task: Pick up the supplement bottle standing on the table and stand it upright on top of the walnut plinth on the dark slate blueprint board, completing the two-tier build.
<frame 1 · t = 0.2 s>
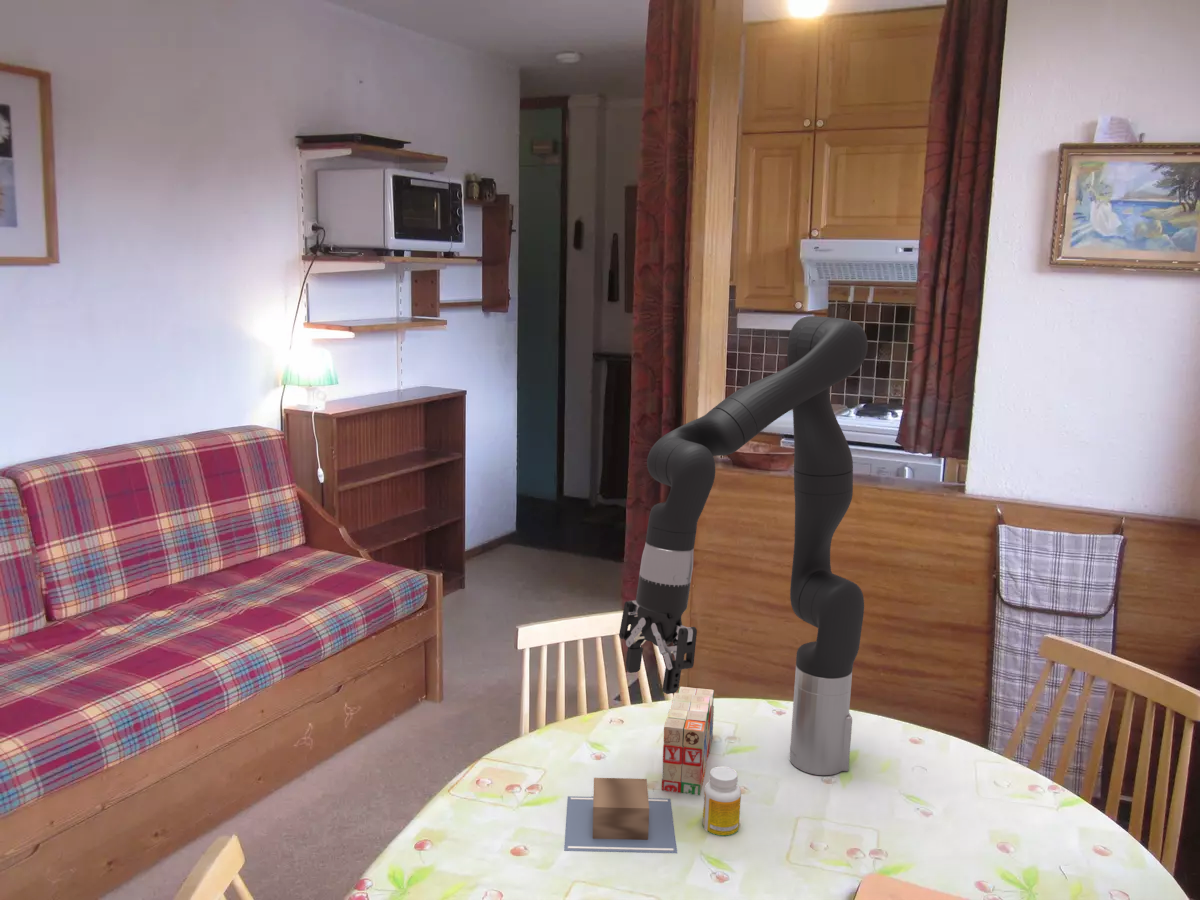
hand: (650, 681, 141), 22 cm above the table, tool pointing down, fingers open, 8 cm apart
blueprint board: (619, 829, 142), on the table
supplement bottle: (720, 833, 142), on the table
stack of blocks: (688, 767, 161), on the table
walnut plinth: (619, 823, 142), resting on blueprint board
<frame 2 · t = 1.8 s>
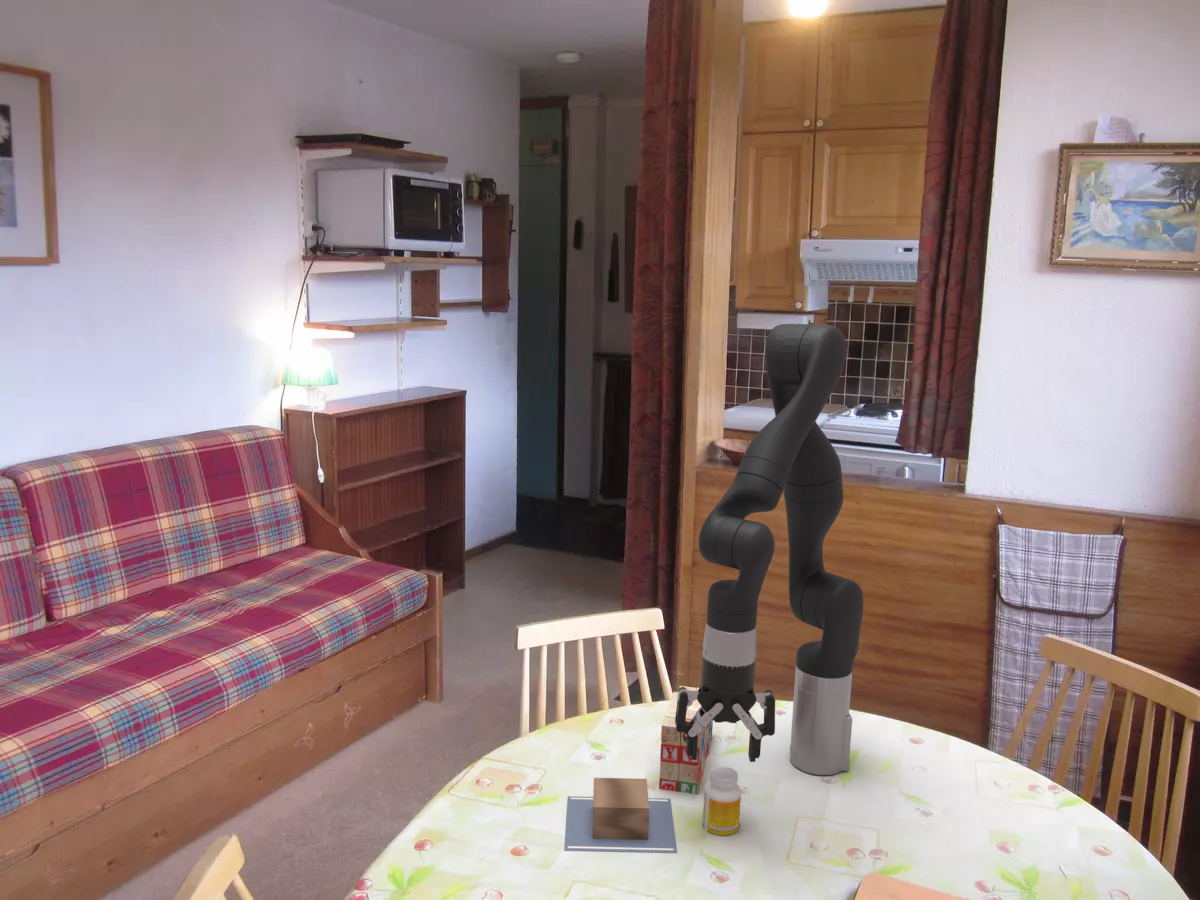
hand: (722, 758, 140), 12 cm above the table, tool pointing down, fingers open, 8 cm apart
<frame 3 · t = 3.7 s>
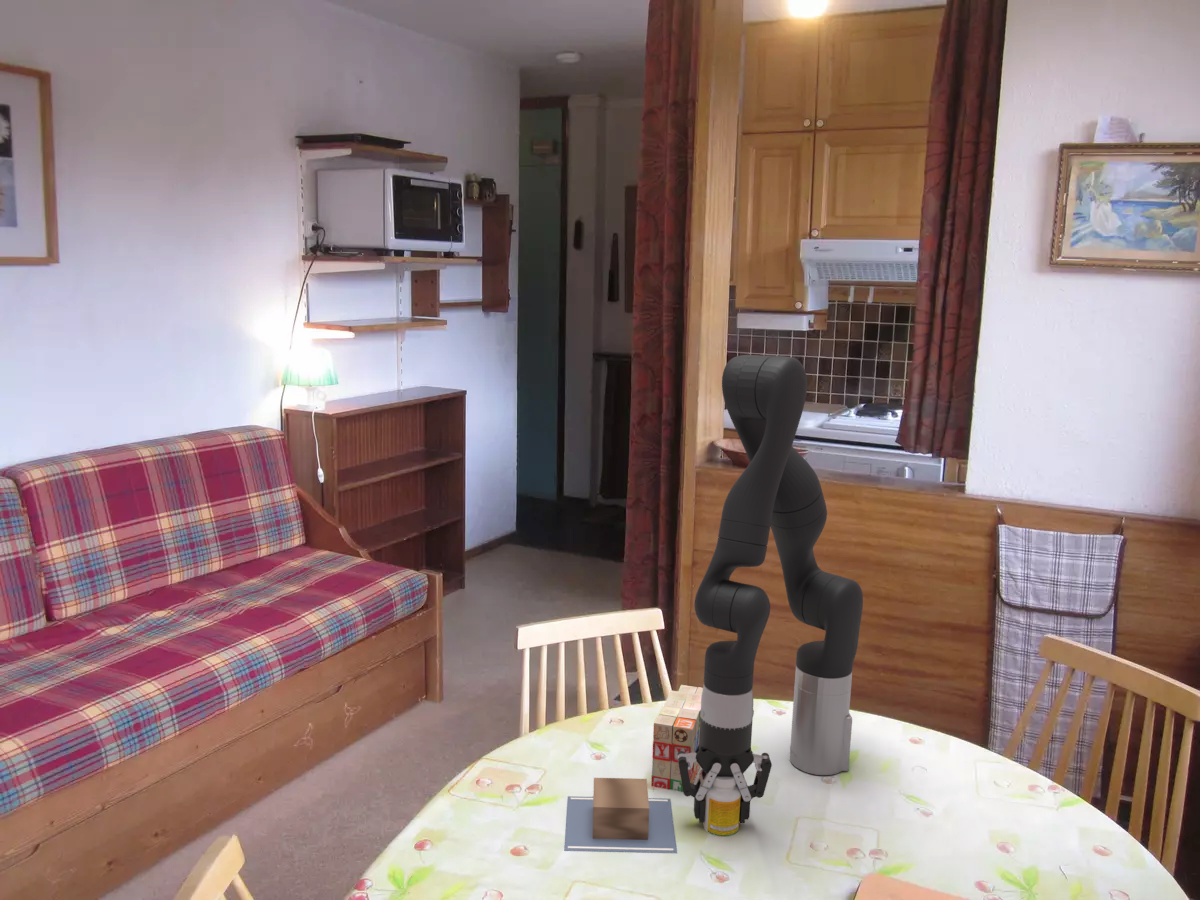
hand: (721, 819, 142), 2 cm above the table, tool pointing down, fingers closed on supplement bottle, 5 cm apart
supplement bottle: (720, 832, 142), on the table, touching gripper
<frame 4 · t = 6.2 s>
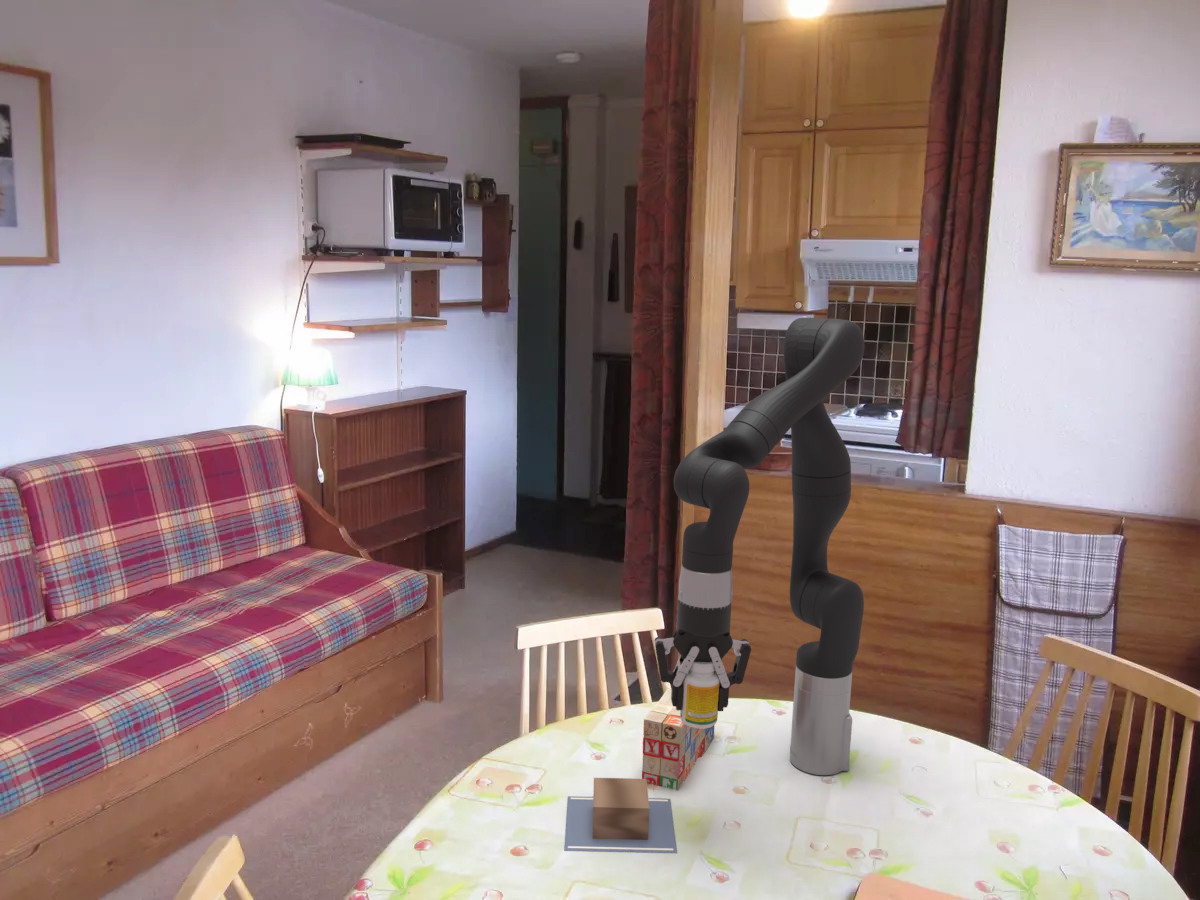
hand: (698, 708, 138), 20 cm above the table, tool pointing down, fingers closed on supplement bottle, 5 cm apart
supplement bottle: (698, 722, 138), point 18 cm above the table, touching gripper
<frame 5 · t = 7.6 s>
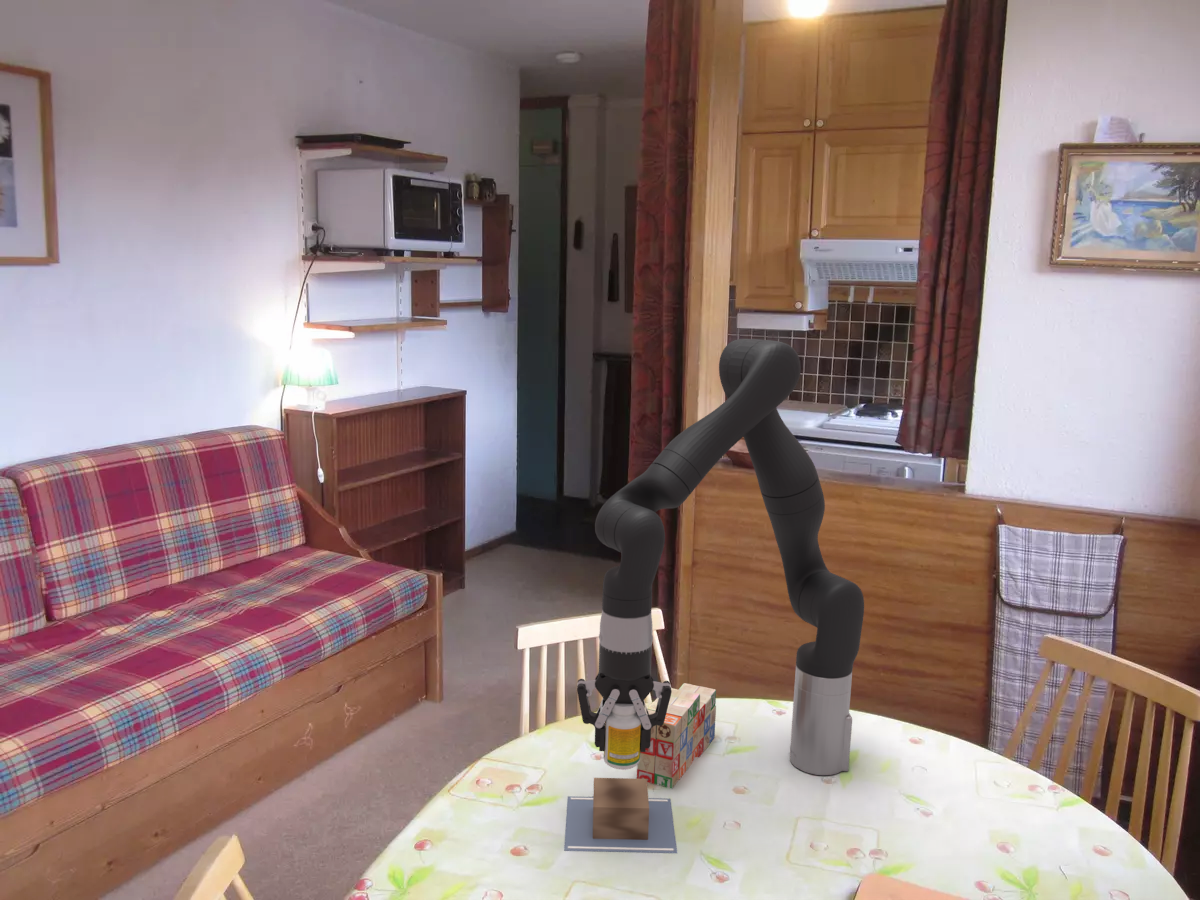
hand: (622, 748, 140), 13 cm above the table, tool pointing down, fingers closed on supplement bottle, 5 cm apart
supplement bottle: (621, 762, 140), point 11 cm above the table, touching gripper
when the fingers open (9 cm above the table, at t = 8.7 s): supplement bottle drops 1 cm, resting on walnut plinth.
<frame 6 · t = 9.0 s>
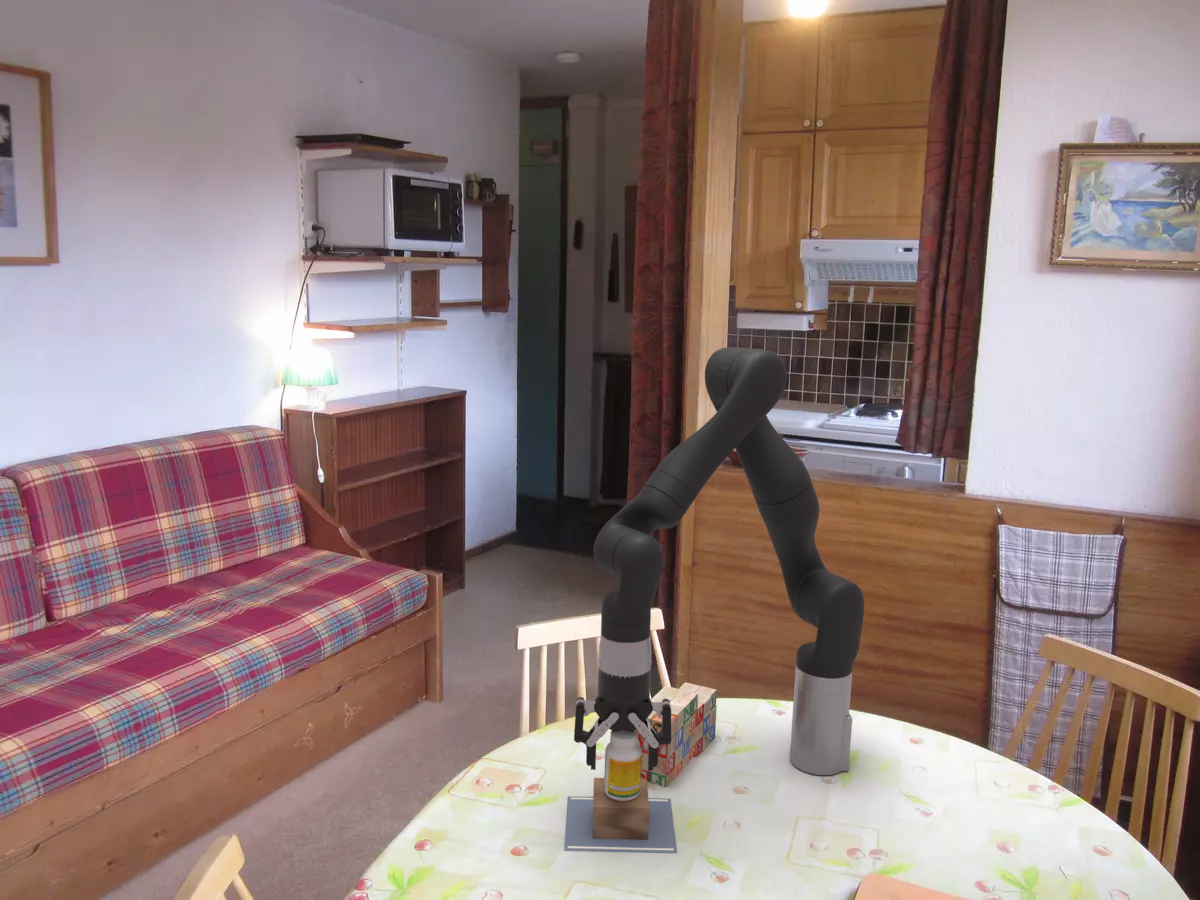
hand: (621, 767, 140), 10 cm above the table, tool pointing down, fingers open, 8 cm apart
supplement bottle: (622, 793, 141), point 6 cm above the table, touching walnut plinth
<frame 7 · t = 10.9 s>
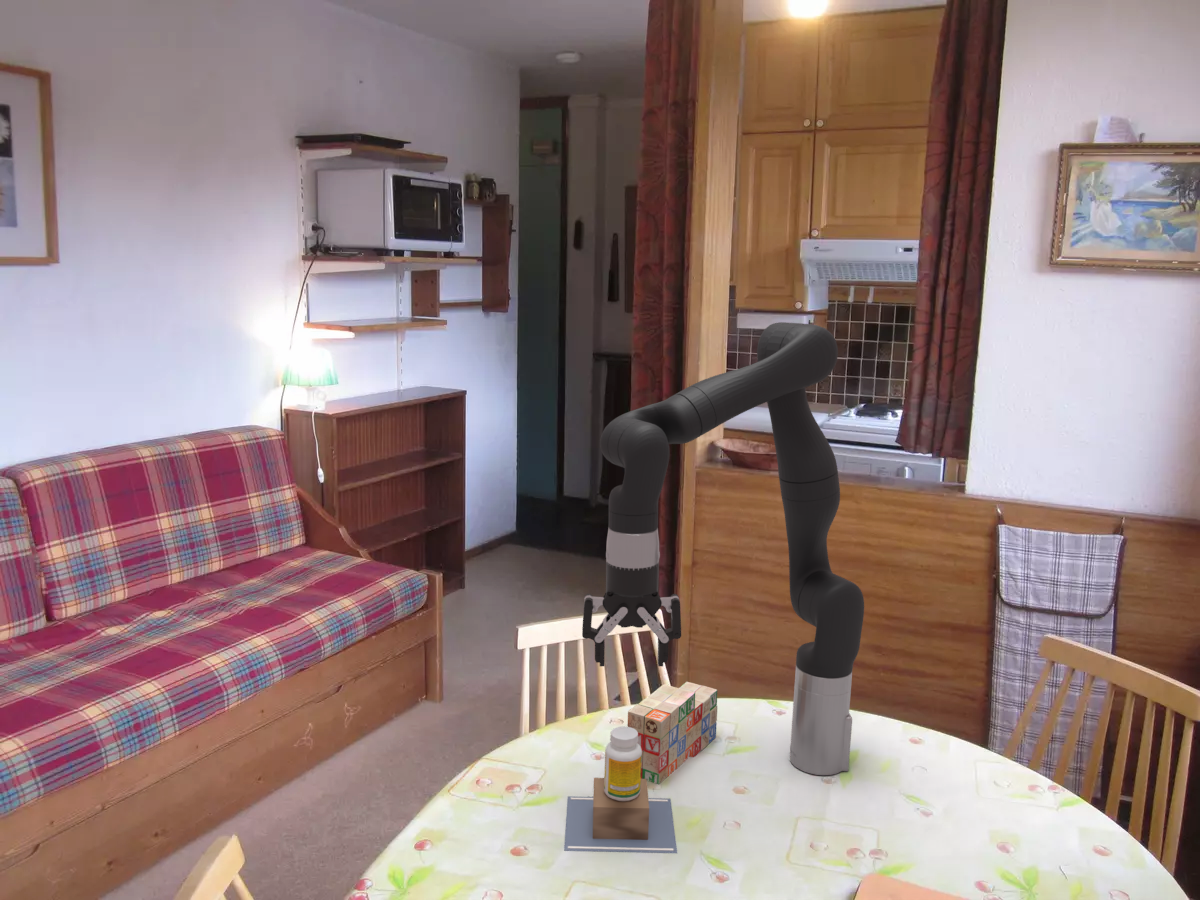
hand: (630, 664, 139), 25 cm above the table, tool pointing down, fingers open, 8 cm apart
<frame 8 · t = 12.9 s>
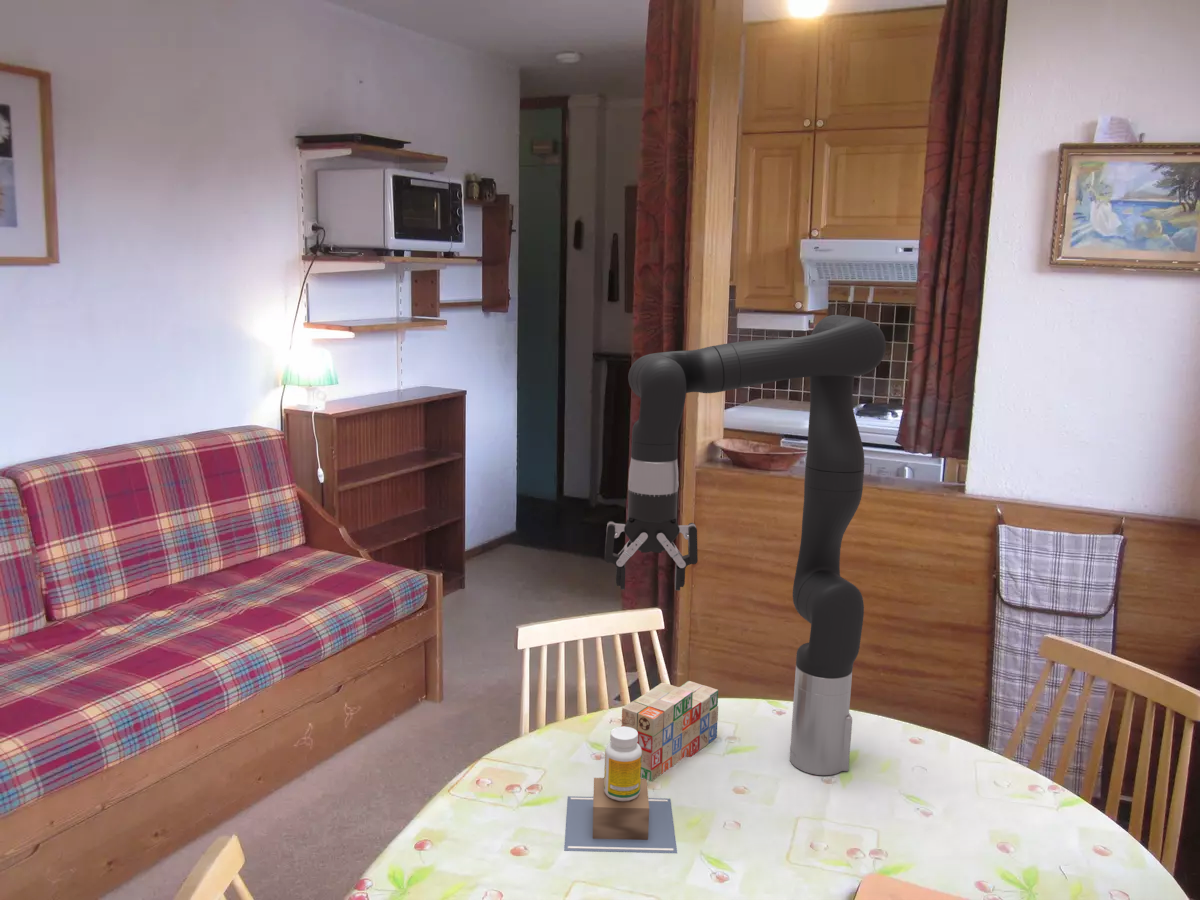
hand: (649, 588, 148), 33 cm above the table, tool pointing down, fingers open, 8 cm apart
at the end: supplement bottle 0.2 cm off-centre on the walnut plinth, point 4.8 cm above the walnut plinth's base; supplement bottle tilted 0°; the gripper is holding nothing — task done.
